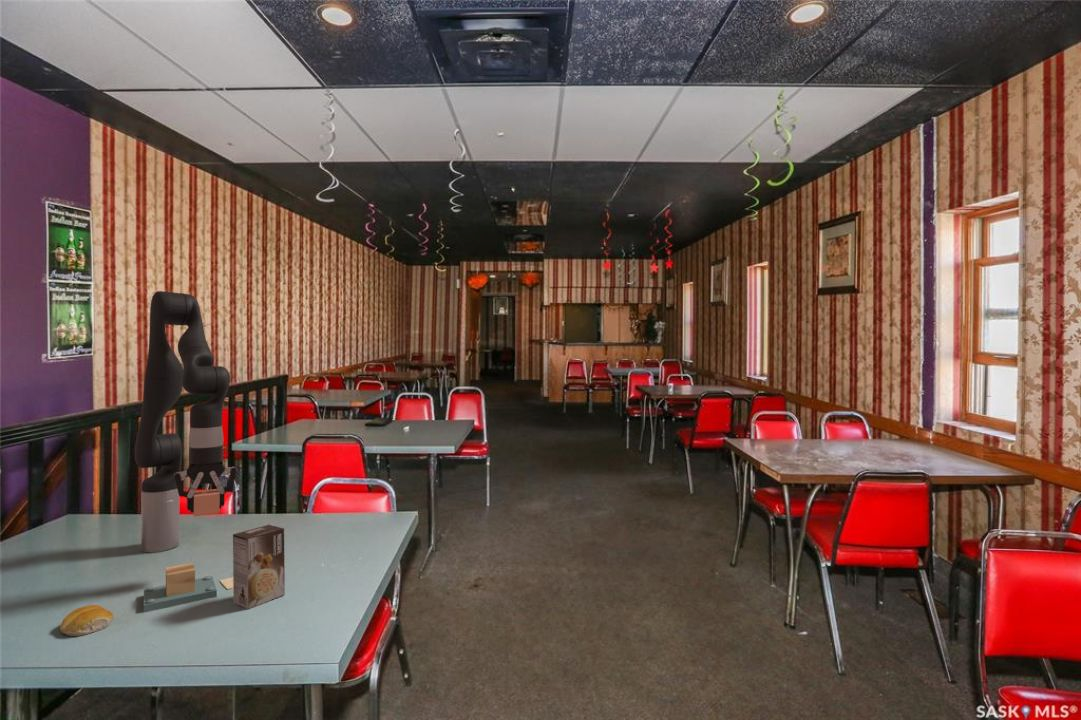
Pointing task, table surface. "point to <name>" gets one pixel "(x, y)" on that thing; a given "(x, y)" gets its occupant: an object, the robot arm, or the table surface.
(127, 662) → the table surface
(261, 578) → the coffee box
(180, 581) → the oak brick
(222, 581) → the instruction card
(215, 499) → the terracotta brick
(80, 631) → the bread roll
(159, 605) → the board
